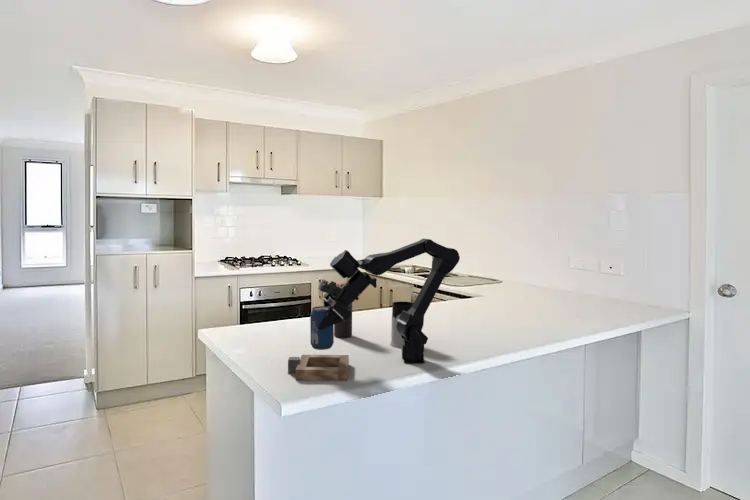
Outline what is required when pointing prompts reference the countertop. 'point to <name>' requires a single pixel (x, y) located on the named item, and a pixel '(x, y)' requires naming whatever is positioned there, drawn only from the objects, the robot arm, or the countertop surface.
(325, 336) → the soda can
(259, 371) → the countertop surface
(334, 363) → the wooden square frame
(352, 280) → the robot arm
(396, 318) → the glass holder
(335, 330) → the bottle
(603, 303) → the countertop surface
